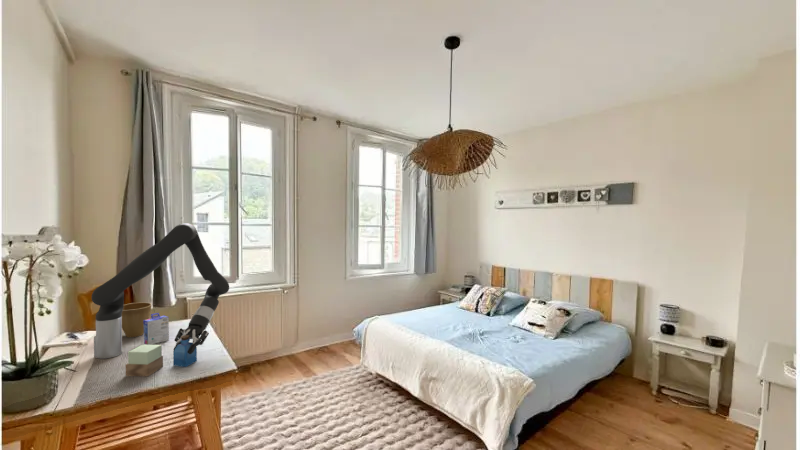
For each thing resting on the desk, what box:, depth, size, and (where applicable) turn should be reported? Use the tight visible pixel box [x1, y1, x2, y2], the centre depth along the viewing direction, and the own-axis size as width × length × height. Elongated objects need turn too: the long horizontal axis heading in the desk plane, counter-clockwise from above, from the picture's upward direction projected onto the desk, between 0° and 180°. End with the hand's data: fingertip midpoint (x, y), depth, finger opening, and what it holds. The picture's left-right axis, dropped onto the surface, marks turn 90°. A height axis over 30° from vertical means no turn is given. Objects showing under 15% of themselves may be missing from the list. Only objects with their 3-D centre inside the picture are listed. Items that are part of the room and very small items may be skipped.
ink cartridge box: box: [143, 312, 170, 345], centre depth 177 cm, size 10×6×14 cm, turn 148°
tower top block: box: [127, 343, 163, 365], centre depth 145 cm, size 8×8×5 cm
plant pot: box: [122, 302, 152, 338], centre depth 186 cm, size 15×15×16 cm
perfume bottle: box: [172, 335, 198, 368], centre depth 153 cm, size 6×6×12 cm
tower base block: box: [125, 355, 164, 377], centre depth 145 cm, size 9×9×5 cm
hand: (182, 352), depth 151 cm, fingers closed on perfume bottle, 6 cm apart
